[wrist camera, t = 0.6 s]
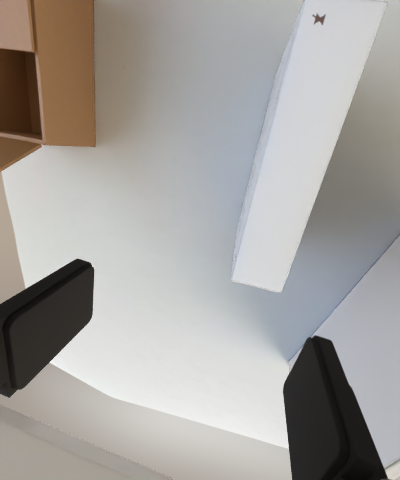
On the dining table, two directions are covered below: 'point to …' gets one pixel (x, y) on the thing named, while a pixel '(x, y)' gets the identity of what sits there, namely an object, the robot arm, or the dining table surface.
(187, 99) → the dining table surface
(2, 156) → the flap
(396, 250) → the packaging
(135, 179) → the dining table surface
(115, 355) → the dining table surface
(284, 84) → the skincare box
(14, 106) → the open shipping carton
